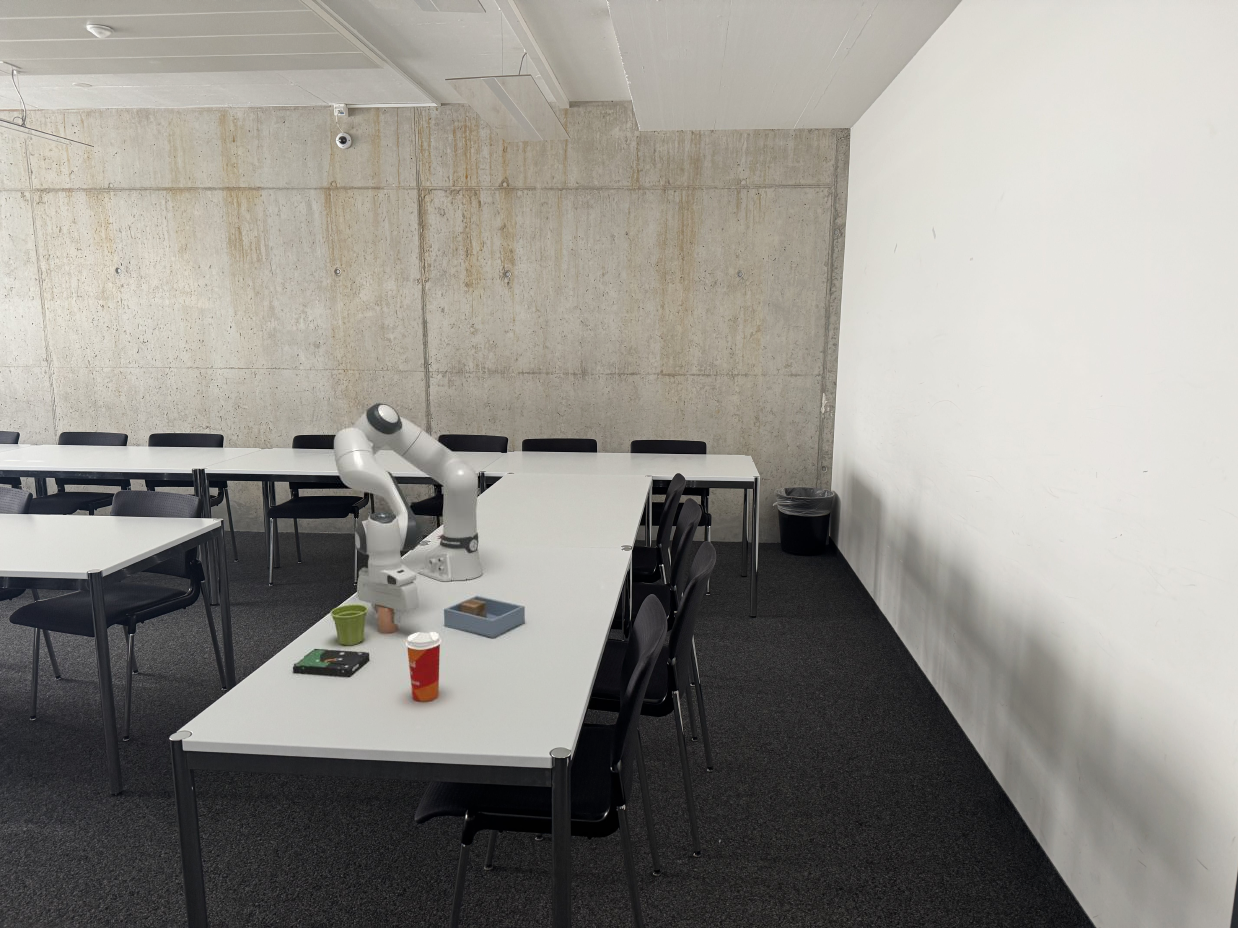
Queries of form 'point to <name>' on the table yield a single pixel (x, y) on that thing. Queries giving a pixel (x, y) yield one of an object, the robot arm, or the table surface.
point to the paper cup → (424, 665)
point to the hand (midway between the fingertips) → (387, 620)
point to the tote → (496, 623)
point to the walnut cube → (474, 608)
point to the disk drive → (331, 663)
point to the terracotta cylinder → (386, 620)
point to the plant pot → (349, 623)
